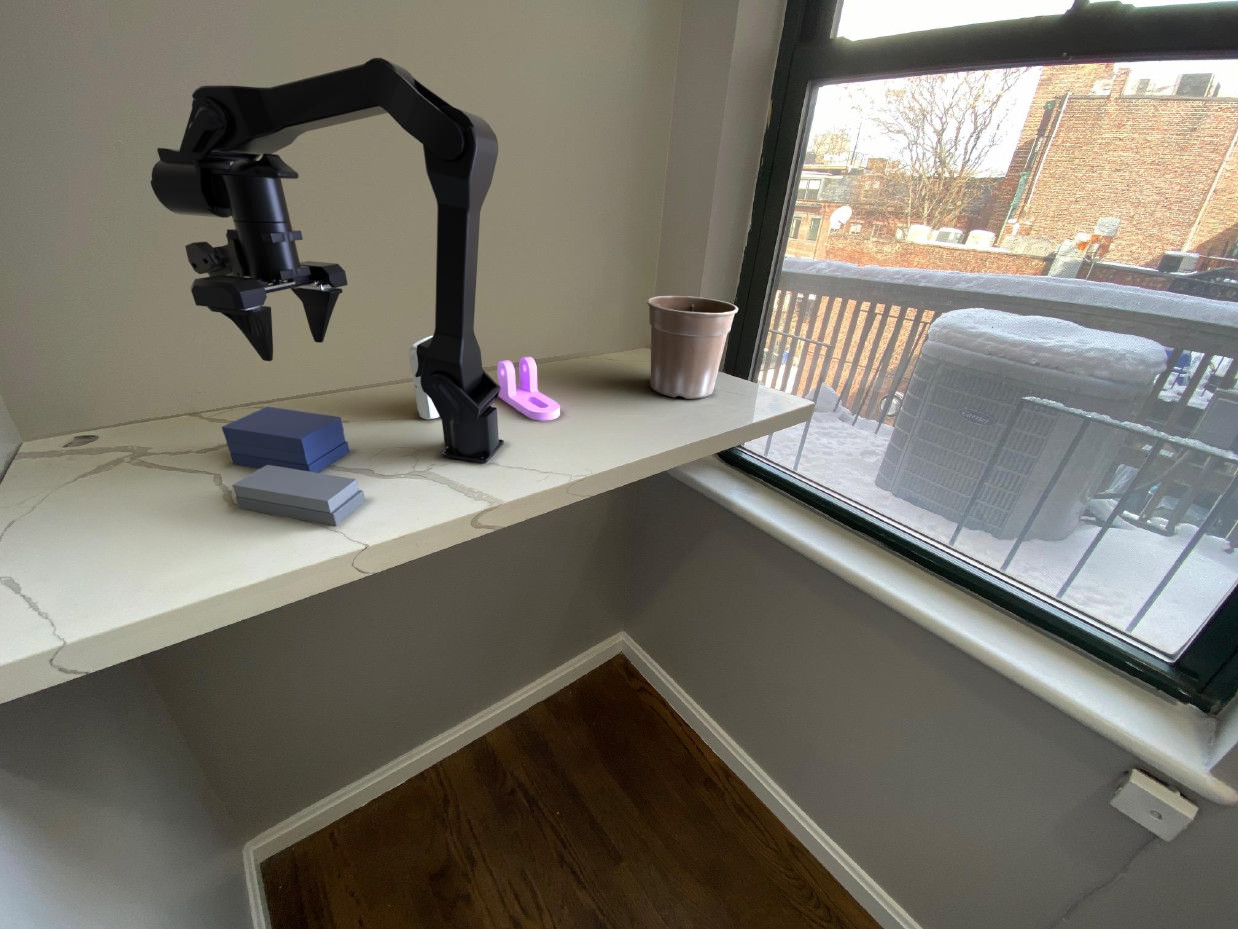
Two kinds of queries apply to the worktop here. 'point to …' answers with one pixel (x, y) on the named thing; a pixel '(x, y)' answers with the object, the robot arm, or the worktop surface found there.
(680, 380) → the plant pot
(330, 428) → the navy book
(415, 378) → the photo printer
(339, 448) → the navy books
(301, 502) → the grey books
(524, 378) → the bracket
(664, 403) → the worktop surface
